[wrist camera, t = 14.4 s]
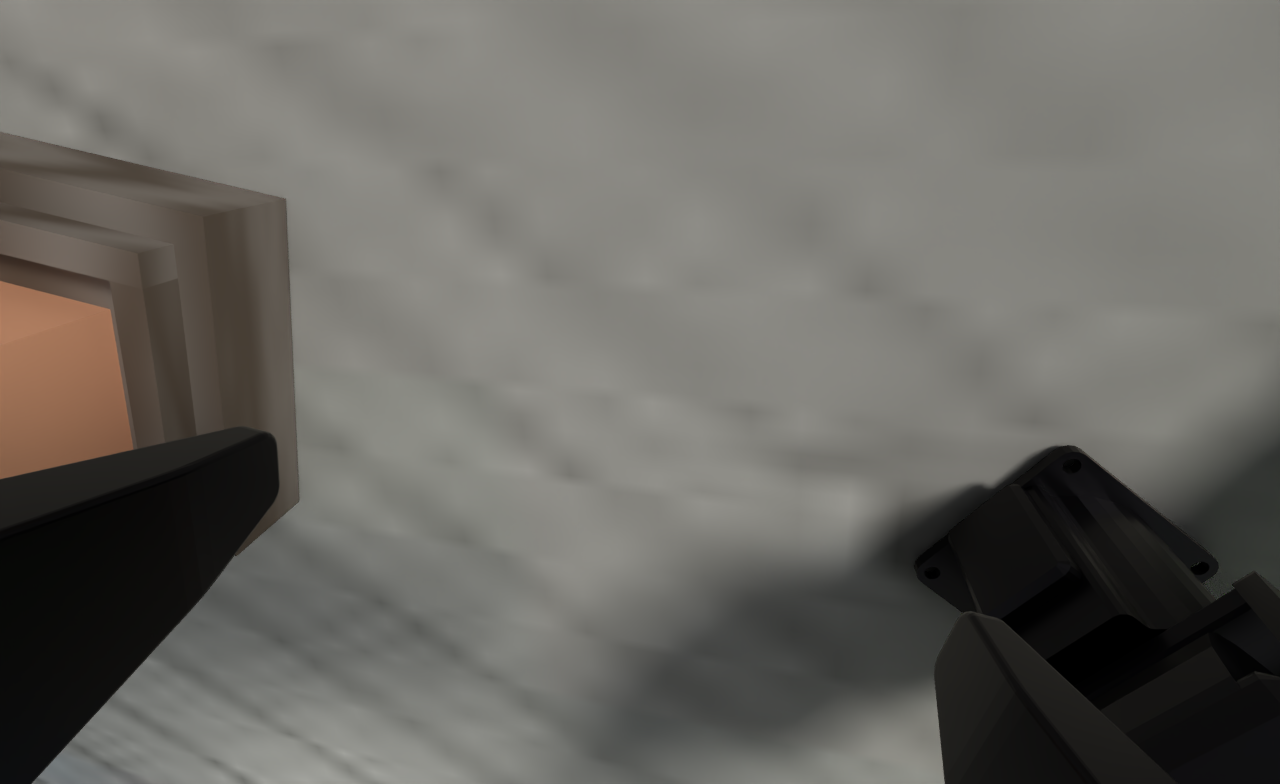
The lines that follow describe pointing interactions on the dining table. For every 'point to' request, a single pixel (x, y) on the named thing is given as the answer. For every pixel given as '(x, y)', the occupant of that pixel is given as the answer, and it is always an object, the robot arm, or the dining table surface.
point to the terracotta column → (57, 382)
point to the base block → (164, 289)
